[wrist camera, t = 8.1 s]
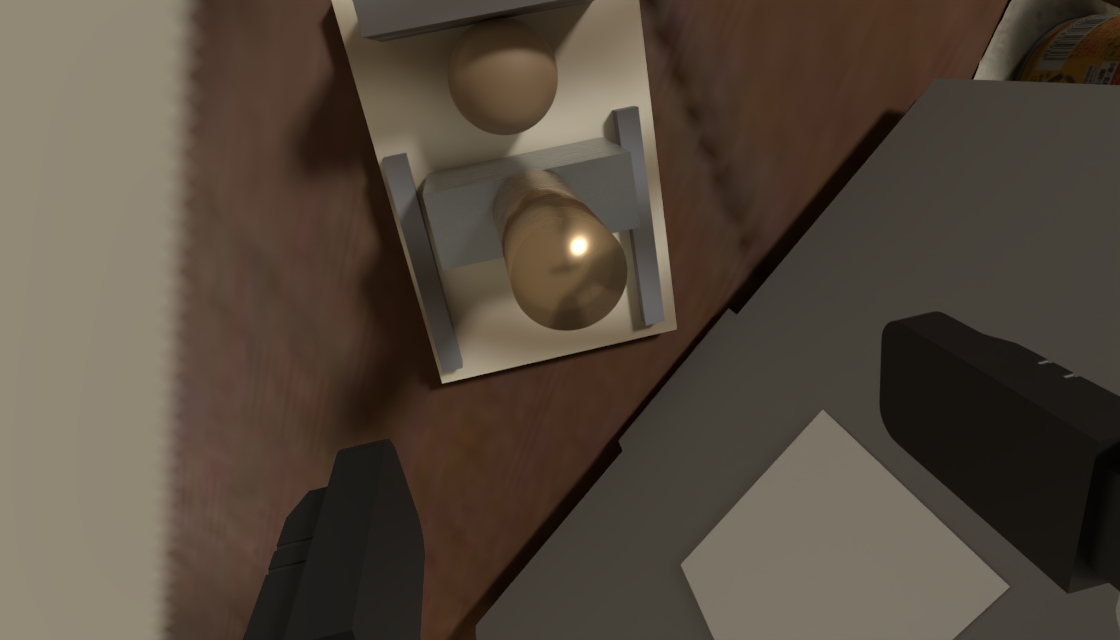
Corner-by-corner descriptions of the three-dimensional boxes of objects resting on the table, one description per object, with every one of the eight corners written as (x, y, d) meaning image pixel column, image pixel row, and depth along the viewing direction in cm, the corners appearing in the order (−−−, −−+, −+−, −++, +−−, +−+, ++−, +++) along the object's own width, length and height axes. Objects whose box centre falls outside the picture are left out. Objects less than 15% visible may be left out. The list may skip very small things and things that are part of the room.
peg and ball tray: (335, -2, 27) (296, -22, 20) (624, -56, 28) (678, -93, 21) (442, 373, 34) (439, 449, 27) (670, 320, 35) (720, 381, 28)
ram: (426, 170, 28) (407, 252, 16) (602, 134, 29) (706, 187, 17) (444, 239, 30) (438, 361, 18) (612, 203, 30) (716, 297, 18)
